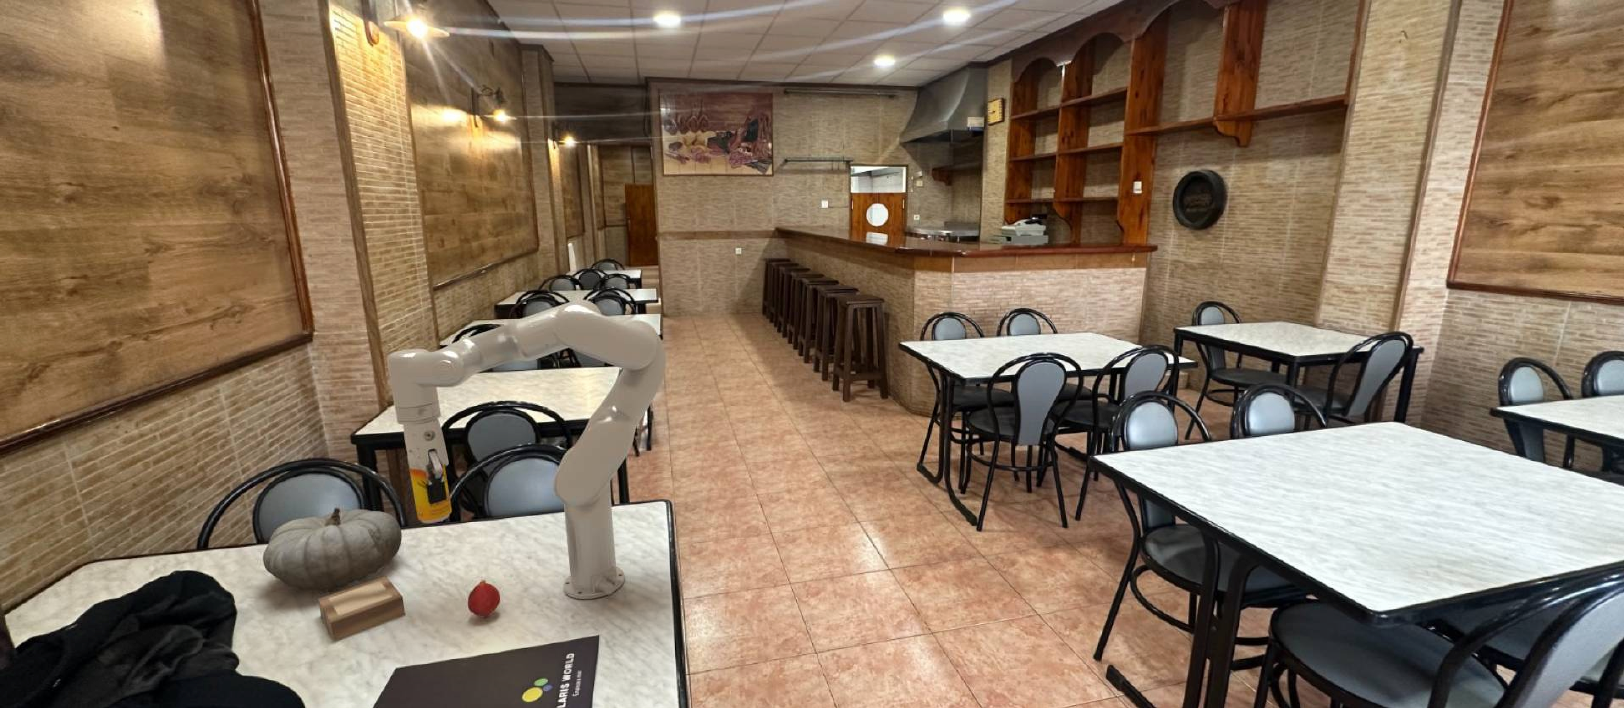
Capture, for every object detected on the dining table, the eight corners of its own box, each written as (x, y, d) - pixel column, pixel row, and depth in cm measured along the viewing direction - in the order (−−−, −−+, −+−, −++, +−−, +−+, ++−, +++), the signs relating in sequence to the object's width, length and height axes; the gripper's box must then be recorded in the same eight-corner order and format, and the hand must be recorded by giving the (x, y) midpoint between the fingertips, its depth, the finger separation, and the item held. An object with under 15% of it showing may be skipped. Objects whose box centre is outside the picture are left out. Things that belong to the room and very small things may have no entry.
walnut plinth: (405, 614, 135) (402, 596, 134) (334, 641, 127) (331, 622, 126) (388, 592, 143) (385, 575, 142) (321, 616, 135) (317, 598, 134)
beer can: (437, 525, 132) (425, 453, 129) (411, 523, 133) (398, 452, 130) (459, 512, 138) (448, 443, 135) (433, 510, 139) (422, 442, 136)
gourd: (333, 605, 134) (316, 522, 133) (239, 612, 140) (222, 532, 139) (430, 557, 158) (416, 486, 157) (346, 564, 164) (332, 496, 163)
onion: (470, 628, 130) (465, 591, 128) (469, 613, 135) (465, 577, 133) (502, 619, 133) (498, 583, 131) (501, 605, 138) (496, 570, 136)
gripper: (453, 415, 128) (467, 502, 131) (425, 400, 140) (438, 481, 143) (410, 424, 123) (425, 515, 126) (384, 409, 134) (399, 492, 138)
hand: (432, 496), depth 135 cm, fingers closed on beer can, 6 cm apart
